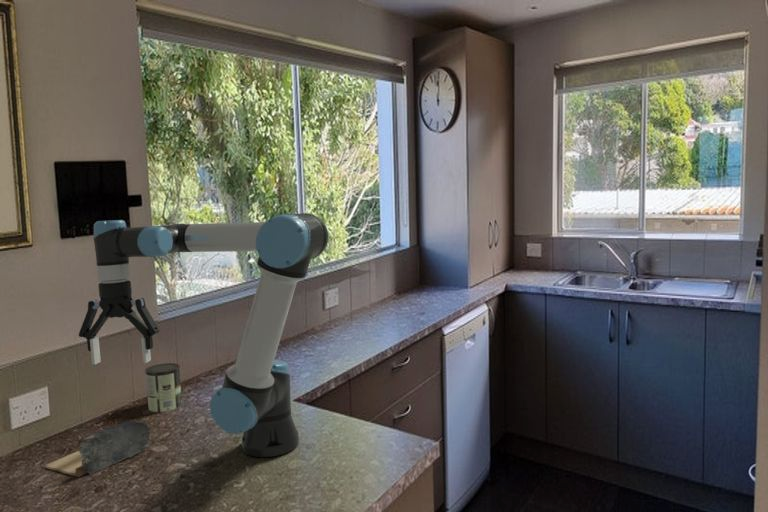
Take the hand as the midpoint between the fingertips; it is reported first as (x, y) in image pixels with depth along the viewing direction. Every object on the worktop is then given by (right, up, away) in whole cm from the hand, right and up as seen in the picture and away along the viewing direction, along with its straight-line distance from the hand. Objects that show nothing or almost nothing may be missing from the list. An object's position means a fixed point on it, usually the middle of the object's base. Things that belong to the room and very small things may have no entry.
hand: (121, 362), depth 148 cm
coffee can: (-3, -22, +36) cm, 43 cm away
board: (-9, -25, +3) cm, 27 cm away
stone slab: (0, -26, -1) cm, 26 cm away
